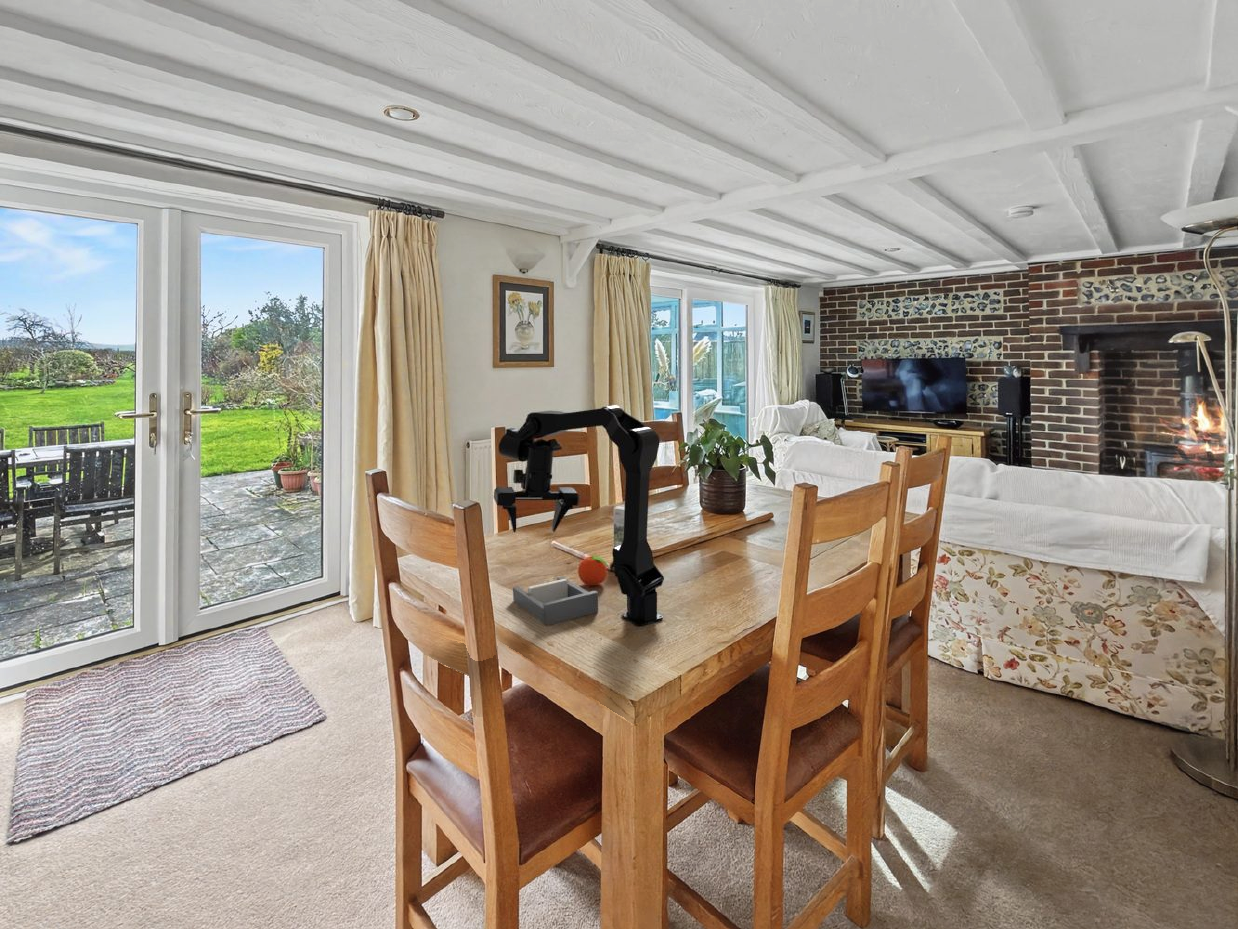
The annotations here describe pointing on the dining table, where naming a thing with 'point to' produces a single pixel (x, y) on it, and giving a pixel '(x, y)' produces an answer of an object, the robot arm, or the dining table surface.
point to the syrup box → (618, 524)
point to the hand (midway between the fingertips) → (534, 531)
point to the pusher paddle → (549, 591)
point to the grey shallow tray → (559, 604)
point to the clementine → (592, 571)
